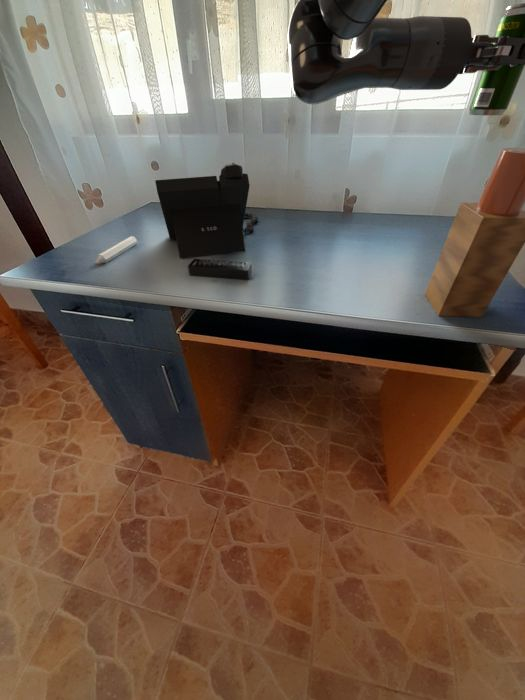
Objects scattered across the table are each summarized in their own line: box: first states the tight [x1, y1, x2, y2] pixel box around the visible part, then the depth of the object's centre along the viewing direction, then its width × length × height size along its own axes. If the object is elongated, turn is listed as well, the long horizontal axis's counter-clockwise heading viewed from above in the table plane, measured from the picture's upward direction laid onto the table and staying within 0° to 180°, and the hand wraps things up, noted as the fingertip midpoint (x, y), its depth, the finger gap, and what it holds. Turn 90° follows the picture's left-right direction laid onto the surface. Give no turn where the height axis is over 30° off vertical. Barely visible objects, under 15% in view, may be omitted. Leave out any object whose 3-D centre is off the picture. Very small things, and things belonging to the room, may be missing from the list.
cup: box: [476, 147, 525, 216], centre depth 45 cm, size 6×6×8 cm
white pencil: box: [94, 235, 138, 265], centre depth 79 cm, size 3×2×16 cm
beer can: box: [468, 2, 525, 116], centre depth 46 cm, size 5×5×12 cm
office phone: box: [154, 162, 259, 260], centre depth 83 cm, size 29×28×20 cm
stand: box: [424, 202, 525, 318], centre depth 54 cm, size 8×8×18 cm
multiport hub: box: [187, 258, 253, 281], centre depth 70 cm, size 4×14×2 cm, turn 80°
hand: (521, 56), depth 45 cm, fingers closed on beer can, 5 cm apart
